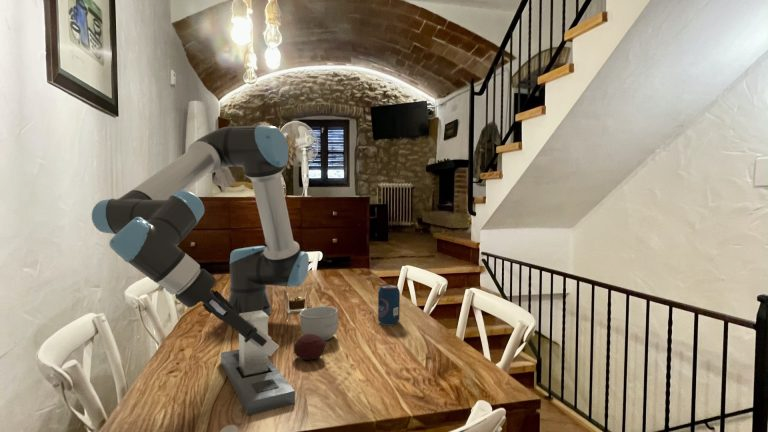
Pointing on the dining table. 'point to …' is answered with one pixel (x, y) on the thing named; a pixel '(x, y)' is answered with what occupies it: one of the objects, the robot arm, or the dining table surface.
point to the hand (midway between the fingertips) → (270, 346)
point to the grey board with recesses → (257, 386)
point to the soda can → (388, 304)
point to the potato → (309, 346)
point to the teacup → (319, 321)
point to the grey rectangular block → (253, 345)
